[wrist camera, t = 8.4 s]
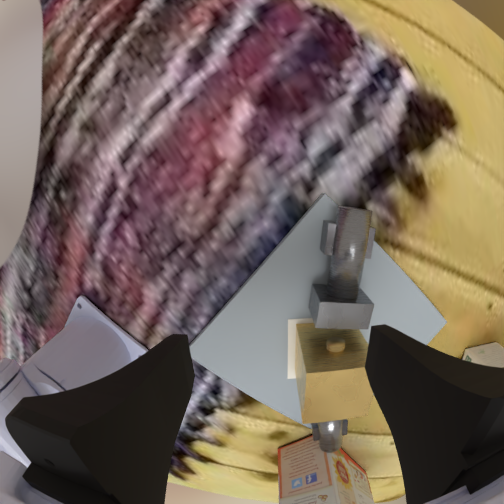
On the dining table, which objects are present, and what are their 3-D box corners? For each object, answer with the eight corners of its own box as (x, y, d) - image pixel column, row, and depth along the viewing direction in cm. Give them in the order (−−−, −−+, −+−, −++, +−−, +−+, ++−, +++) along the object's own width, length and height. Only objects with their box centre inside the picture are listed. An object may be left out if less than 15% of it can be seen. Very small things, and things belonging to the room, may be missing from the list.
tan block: (346, 369, 22) (366, 419, 16) (294, 374, 22) (302, 427, 16) (353, 314, 20) (381, 359, 14) (295, 319, 20) (306, 367, 15)
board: (321, 428, 24) (322, 435, 24) (186, 347, 22) (184, 353, 22) (442, 318, 21) (447, 322, 20) (322, 193, 19) (325, 193, 18)
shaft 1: (354, 309, 20) (368, 329, 17) (308, 306, 20) (315, 328, 17) (371, 209, 18) (390, 215, 15) (322, 203, 19) (333, 207, 15)
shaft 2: (304, 384, 22) (309, 410, 19) (346, 376, 22) (355, 400, 19) (310, 436, 24) (313, 459, 21) (345, 429, 24) (352, 451, 20)
